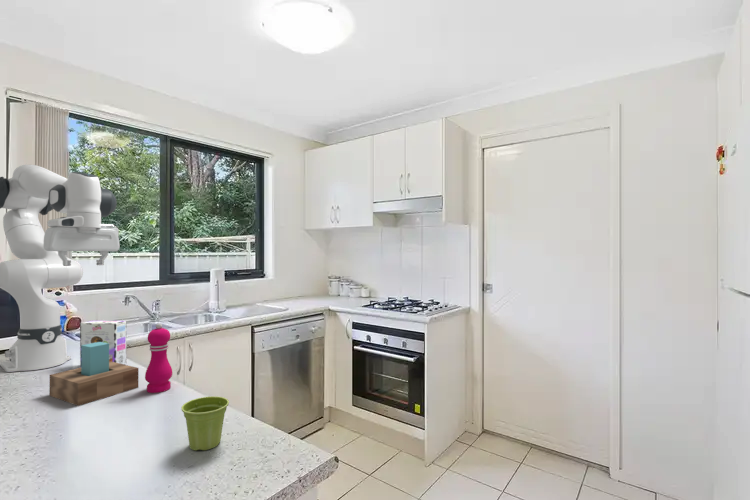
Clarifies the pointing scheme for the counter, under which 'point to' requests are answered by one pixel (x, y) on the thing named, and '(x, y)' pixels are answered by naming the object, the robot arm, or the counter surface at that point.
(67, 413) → the counter surface
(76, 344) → the counter surface
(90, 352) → the teal rectangular block
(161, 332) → the pepper mill
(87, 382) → the wooden holder
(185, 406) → the plant pot
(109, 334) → the candy box
